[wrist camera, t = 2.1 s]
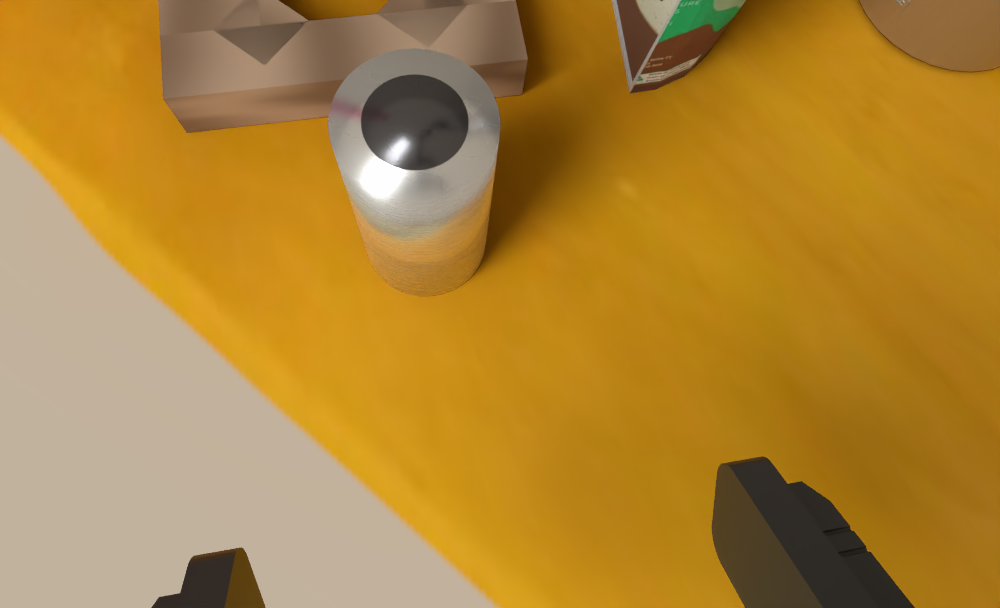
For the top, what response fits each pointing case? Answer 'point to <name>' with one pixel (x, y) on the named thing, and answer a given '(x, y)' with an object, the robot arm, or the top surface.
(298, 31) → the frame
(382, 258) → the bushing
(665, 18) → the food container
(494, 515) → the top surface
